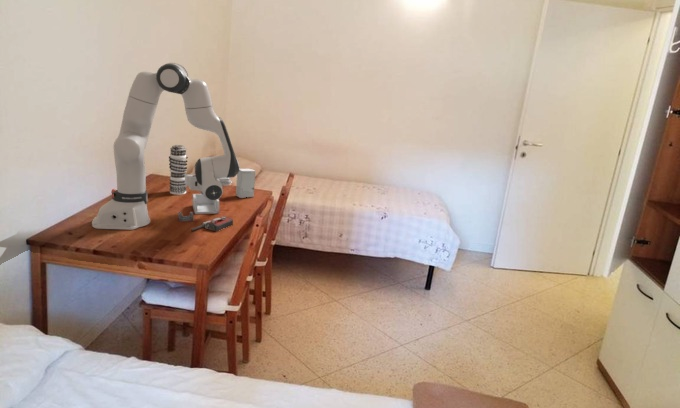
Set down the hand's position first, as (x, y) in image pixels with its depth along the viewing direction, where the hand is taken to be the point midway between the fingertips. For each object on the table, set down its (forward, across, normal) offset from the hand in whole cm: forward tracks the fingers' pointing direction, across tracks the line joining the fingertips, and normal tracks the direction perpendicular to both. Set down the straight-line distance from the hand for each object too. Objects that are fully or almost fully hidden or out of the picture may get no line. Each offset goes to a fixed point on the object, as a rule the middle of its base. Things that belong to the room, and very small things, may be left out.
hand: (206, 175), depth 225 cm
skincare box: (+21, -23, +17) cm, 35 cm away
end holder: (-1, 0, +17) cm, 17 cm away
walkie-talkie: (-27, 0, +17) cm, 32 cm away
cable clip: (-15, +10, +17) cm, 24 cm away
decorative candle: (+29, +11, +17) cm, 35 cm away
